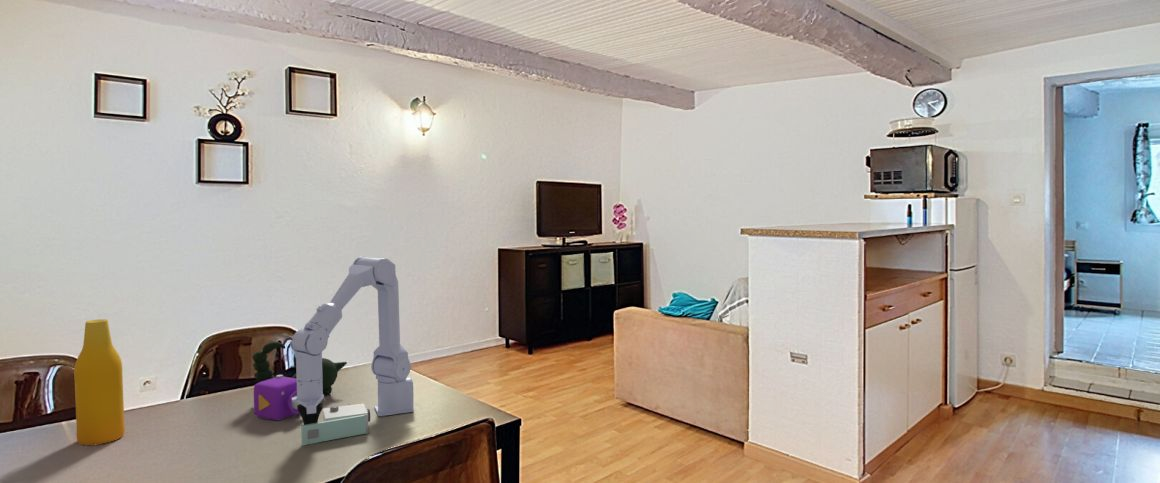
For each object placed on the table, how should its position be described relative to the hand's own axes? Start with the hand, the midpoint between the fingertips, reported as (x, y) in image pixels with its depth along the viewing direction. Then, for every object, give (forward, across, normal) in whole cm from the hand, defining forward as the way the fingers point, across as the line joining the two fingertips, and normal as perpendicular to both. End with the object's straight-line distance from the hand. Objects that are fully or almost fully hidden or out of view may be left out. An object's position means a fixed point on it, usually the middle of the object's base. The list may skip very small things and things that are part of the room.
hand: (310, 433), depth 149 cm
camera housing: (+2, -4, +8) cm, 10 cm away
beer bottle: (+2, -22, -46) cm, 51 cm away
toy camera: (+2, -22, -6) cm, 23 cm away
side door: (+2, +1, +6) cm, 6 cm away
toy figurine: (+2, -36, -1) cm, 36 cm away
